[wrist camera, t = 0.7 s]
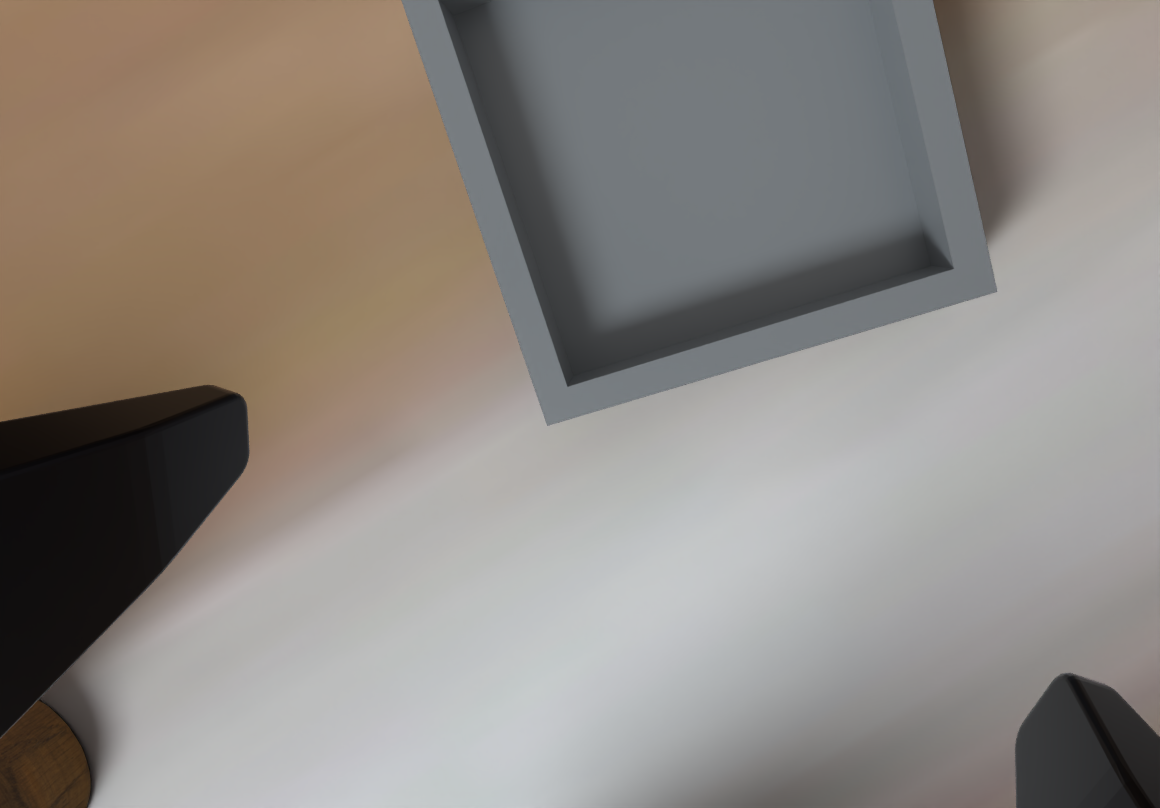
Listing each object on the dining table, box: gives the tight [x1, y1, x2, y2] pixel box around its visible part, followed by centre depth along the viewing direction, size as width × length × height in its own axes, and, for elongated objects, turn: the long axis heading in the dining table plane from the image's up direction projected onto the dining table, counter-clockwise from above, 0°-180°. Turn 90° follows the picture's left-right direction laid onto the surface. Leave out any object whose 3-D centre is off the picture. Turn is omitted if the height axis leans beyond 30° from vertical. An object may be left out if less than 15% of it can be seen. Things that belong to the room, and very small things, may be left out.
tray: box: [402, 0, 997, 426], centre depth 19 cm, size 11×11×2 cm
